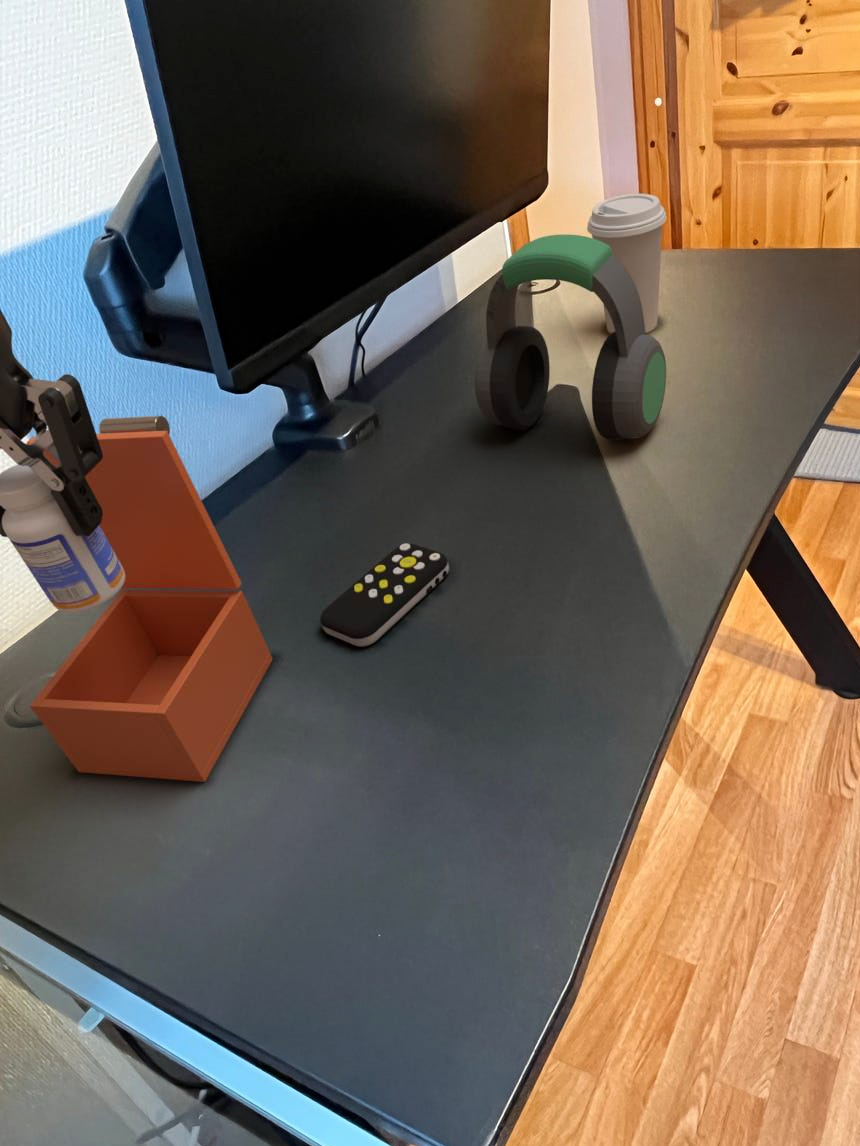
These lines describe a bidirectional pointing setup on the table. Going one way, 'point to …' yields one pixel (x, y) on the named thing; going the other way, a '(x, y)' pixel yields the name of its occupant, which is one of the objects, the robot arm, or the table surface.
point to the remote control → (384, 594)
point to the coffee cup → (633, 244)
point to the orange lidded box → (156, 684)
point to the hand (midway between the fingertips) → (52, 528)
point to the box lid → (154, 510)
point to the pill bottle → (57, 545)
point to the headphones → (520, 356)
